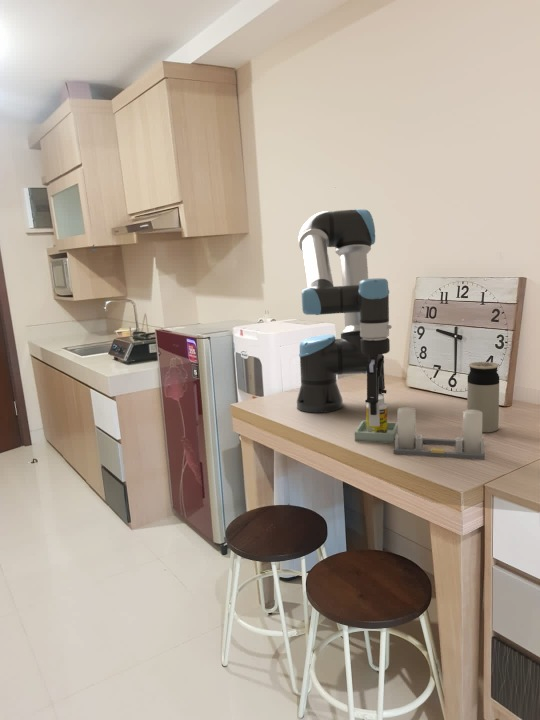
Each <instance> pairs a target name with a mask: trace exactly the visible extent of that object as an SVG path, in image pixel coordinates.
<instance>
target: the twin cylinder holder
mask: <svg viewBox="0 0 540 720" xmlns="http://www.w3.org/2000/svg"><path fill="white" fill-rule="evenodd" d="M396 410H397V413H396V414H397V422H398V434H396V437H395V441H394V446H395V447H394V448H393V450H392V451H393V455H406V456H421V457H433V458H434V457H435V458H436V457H437V458H449V459H450V458H452V459H464V460H481V461H485V438H483V433H482V412H481V411H479V410H467V409H465V410H463V411H462V437H461V436H460V437H459V436H456V437H455V439H448V438H447V439H446V438H431V437H430V438H429V437H424V435H422V434H416V433H417V430H416V428H417V427H416V419H417V418H416V417H417V416H416V408H414V407H410V406H409V407H408V406H403V407H399V408H397V409H396ZM424 444H430V445H431V444H432V445H434V444H435V445H446V446H447V445H450V446H455V451H446V450H445V448H432V447H431V449H430V450H428V449H427V450H424V449H423V447H424Z"/></svg>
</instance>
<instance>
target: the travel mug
mask: <svg viewBox="0 0 540 720" xmlns="http://www.w3.org/2000/svg"><path fill="white" fill-rule="evenodd" d="M468 367H469V370H470V371H469V373H468V375H467V397H466V398H467V401H466V402H467V403H466V405H467V408H466V410H479V411H481V412H482V434H486V433H494V432H496V431H497V430H499V422H500V421H499V411H500V410H499V409H500V375H499V373H498V368H499V364H498V363H496V362H491V361H474V362H471V363H468Z"/></svg>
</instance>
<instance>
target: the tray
mask: <svg viewBox="0 0 540 720" xmlns="http://www.w3.org/2000/svg"><path fill="white" fill-rule="evenodd" d="M360 421H361V422H360V423H359V425H358V426H357V428H356V429H355V430H354V441H355V442H364V443H365V442H366V443H378V444H379V443H380V444H395V437H396V434H398V421H395V422H394V421H387V433H376V432H367V420H360Z"/></svg>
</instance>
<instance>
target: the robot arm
mask: <svg viewBox="0 0 540 720" xmlns="http://www.w3.org/2000/svg"><path fill="white" fill-rule="evenodd" d="M300 228H301V229H300V231H299V235H298V246H299V249H300V250H301V252H302V253H303V254H302V255H303V262H304V270H305V271H304V272H305V279H306V288H302V289H301V306H302V308H301V309H302V313H303V314H305V315H308V316H309V315H311V316H312V315H313V316H320V315H321V316H322V315H332V314H343V315H344V316H343V317H344V318H343V319H344V329H343V330H342V332H341V333H340V338H336V335H334V334H320V335H315V336H309V337H307V338H306V339H303V340H301V342H300V343H299V354H298V355H299V363H300V364H299V365H300V367H299V368H300V387H299V391H298V393H297V399H296V408H297V409H298V410H299V411H302V412H306V413H307V412H308V413H329V412H330V413H331V412H334V411H338V410H340V409H341V408H343V404H344V403H343V400H344V399H343V396H342V393H341V391H340V389H339V386H338V382H337V375H339V376H340V375H354V374H355V375H358V374H365V375H366V399H365V401H364V402H365V404H369V426H380V413H379V402H378V401H379V400H378V396H383V397H384V398H385V394H387V393H388V392H387V391H388V390H387V389H386V386H385V366H384V365H385V360H384V359H385V356H384V355H385V354H388V353H389V352H391V351H390V350H391V349H390V347H391V346H390V345H391V344H390V338H389V336H390V329H392V325H391V324H390V302H389V301H390V300H389V298H390V289H389V281H388V280H387V279H386V278H382V277H380V278H369V270H368V254H369V252H370V251H371V249H372V245H374V244H375V243H376V227H375V223H374V219H373V216H372V214H371V212H370V211H369V210H367V209H364V208H363V209H358V208H353V209H345V210H344V209H343V210H342V209H341V210H330V211H325V210H323V211H321V212H317V213H315V214H314V215H312V216H311V217H309V218H308V220H306V221H305V223H304V224H303V225H302V227H300ZM328 248H335V253H336V254H337V255H338V256H339V257H340V267H341V268H340V269H341V270H340V272H341V284H342V285H340V286H339V285H336V286H334V281H333V275H332V269H331V263H330V259H329V258H330V257H329V251H328ZM371 397H374V398H371Z"/></svg>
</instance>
